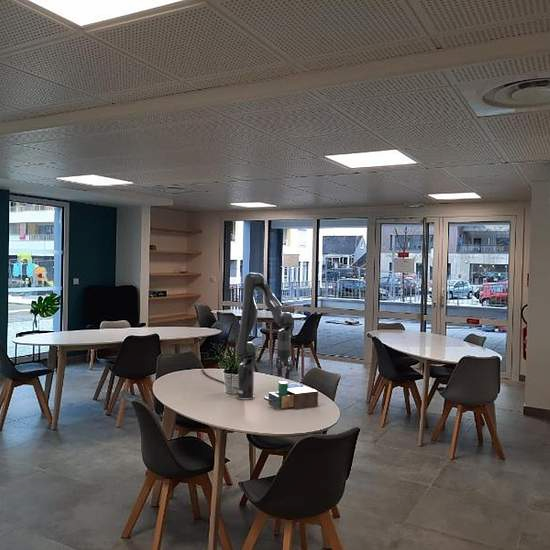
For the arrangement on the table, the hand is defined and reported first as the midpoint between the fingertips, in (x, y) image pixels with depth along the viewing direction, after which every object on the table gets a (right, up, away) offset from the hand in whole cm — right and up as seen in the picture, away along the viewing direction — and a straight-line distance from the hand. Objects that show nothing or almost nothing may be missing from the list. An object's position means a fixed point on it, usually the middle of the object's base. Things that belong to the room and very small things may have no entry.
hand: (283, 377), depth 299 cm
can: (0, -15, 0) cm, 15 cm away
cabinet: (+10, -17, +5) cm, 20 cm away
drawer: (-2, -16, 0) cm, 16 cm away
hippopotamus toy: (+7, -17, +24) cm, 30 cm away
